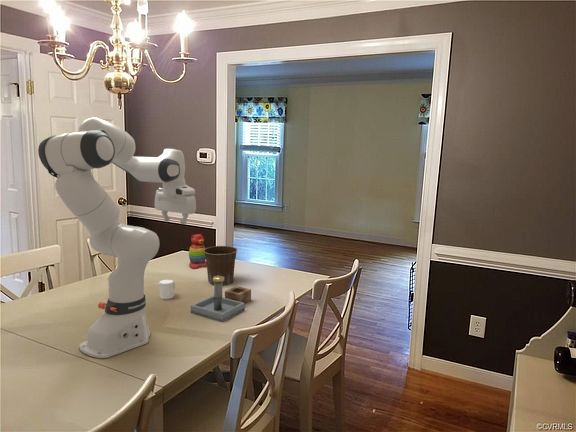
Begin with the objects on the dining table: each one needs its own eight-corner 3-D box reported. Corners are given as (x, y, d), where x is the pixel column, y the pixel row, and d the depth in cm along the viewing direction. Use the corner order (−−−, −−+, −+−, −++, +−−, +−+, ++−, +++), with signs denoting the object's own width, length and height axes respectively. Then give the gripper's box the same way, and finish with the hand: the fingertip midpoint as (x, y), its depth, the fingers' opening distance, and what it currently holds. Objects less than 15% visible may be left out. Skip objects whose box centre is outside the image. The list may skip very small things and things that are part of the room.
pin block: (239, 306, 170) (239, 294, 169) (224, 302, 174) (224, 291, 173) (251, 300, 176) (251, 289, 175) (236, 296, 180) (236, 286, 180)
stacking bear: (193, 269, 219) (192, 237, 216) (184, 265, 226) (184, 233, 223) (211, 266, 226) (210, 234, 223) (202, 262, 233) (201, 231, 230)
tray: (222, 322, 154) (222, 314, 153) (190, 312, 162) (190, 305, 161) (244, 310, 166) (244, 303, 165) (214, 301, 174) (214, 295, 173)
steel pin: (218, 312, 161) (219, 280, 158) (209, 309, 163) (210, 277, 161) (226, 308, 164) (226, 277, 162) (217, 305, 167) (217, 274, 164)
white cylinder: (170, 300, 174) (169, 284, 173) (155, 298, 176) (155, 283, 175) (177, 294, 181) (177, 279, 180) (163, 293, 182) (163, 278, 181)
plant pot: (222, 289, 189) (222, 255, 186) (196, 283, 197) (196, 250, 195) (243, 280, 203) (244, 249, 200) (219, 274, 211) (219, 244, 208)
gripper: (150, 187, 167) (151, 221, 170) (186, 191, 157) (187, 226, 159) (162, 186, 173) (163, 219, 175) (198, 190, 163) (198, 224, 165)
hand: (175, 222), depth 167 cm, fingers open, 8 cm apart
